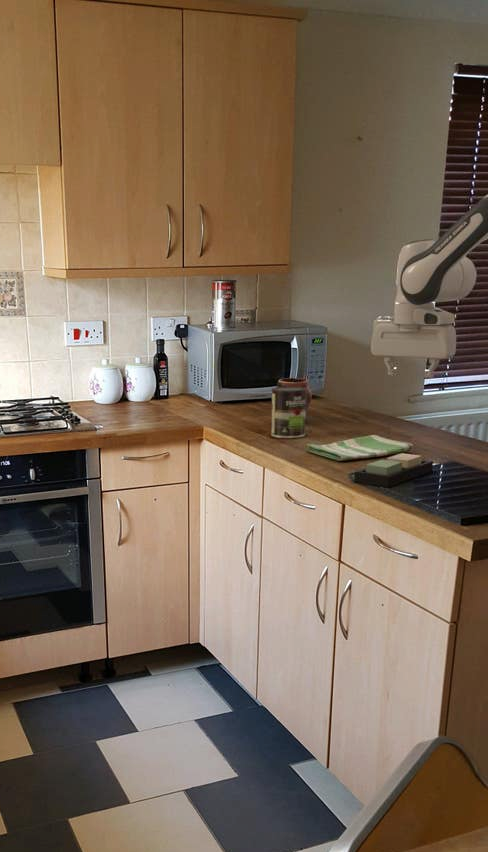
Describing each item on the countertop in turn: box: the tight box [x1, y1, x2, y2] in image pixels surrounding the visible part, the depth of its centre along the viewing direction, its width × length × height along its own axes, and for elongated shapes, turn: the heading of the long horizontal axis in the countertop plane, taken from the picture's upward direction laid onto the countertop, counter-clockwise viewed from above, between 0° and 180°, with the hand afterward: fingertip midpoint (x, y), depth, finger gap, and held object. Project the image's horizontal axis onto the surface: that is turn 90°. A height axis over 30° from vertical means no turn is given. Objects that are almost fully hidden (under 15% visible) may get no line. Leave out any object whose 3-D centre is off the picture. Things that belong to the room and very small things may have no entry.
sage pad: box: [365, 459, 402, 475], centre depth 206 cm, size 6×7×3 cm
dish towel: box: [306, 434, 414, 462], centre depth 238 cm, size 18×23×3 cm
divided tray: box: [353, 459, 434, 488], centre depth 210 cm, size 9×21×2 cm, turn 136°
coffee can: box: [270, 386, 307, 439], centre depth 263 cm, size 10×10×14 cm
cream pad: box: [386, 452, 423, 468], centre depth 212 cm, size 6×7×3 cm
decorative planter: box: [276, 377, 312, 417], centre depth 285 cm, size 20×12×14 cm, turn 10°
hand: (410, 377), depth 206 cm, fingers open, 8 cm apart
